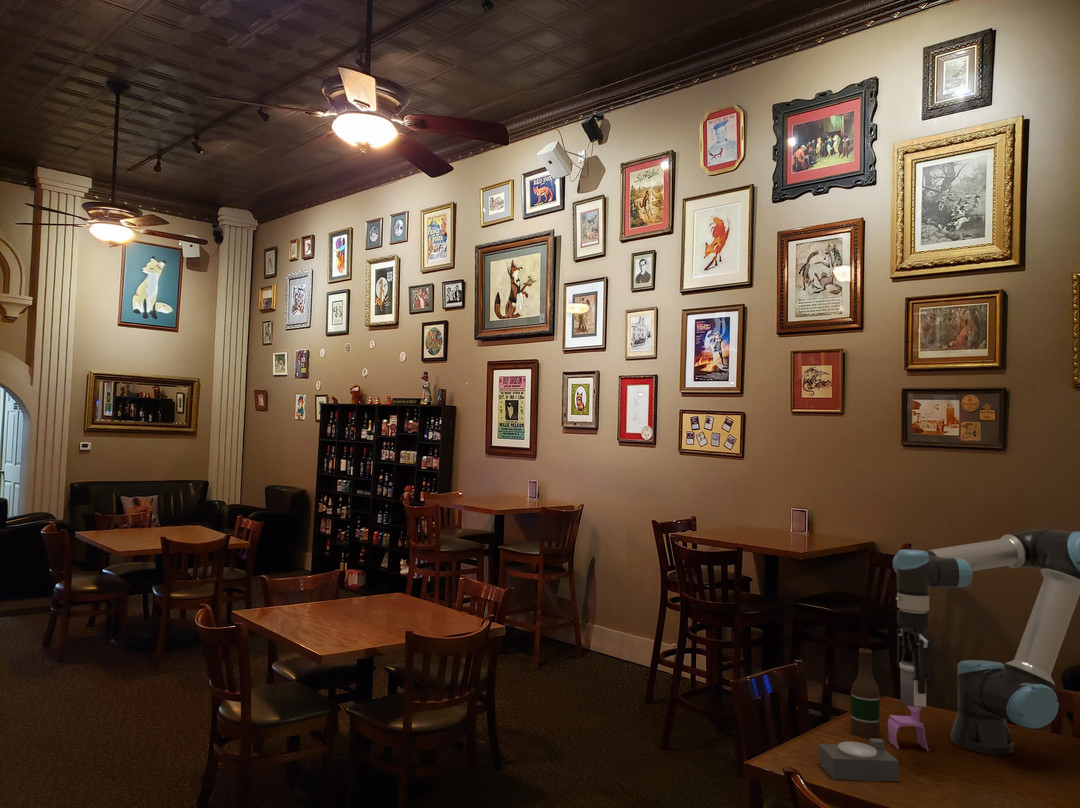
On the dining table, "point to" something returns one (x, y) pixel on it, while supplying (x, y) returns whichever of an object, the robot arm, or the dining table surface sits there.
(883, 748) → the camera body block
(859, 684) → the beer bottle
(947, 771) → the dining table surface
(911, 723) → the toy chair
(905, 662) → the lens
